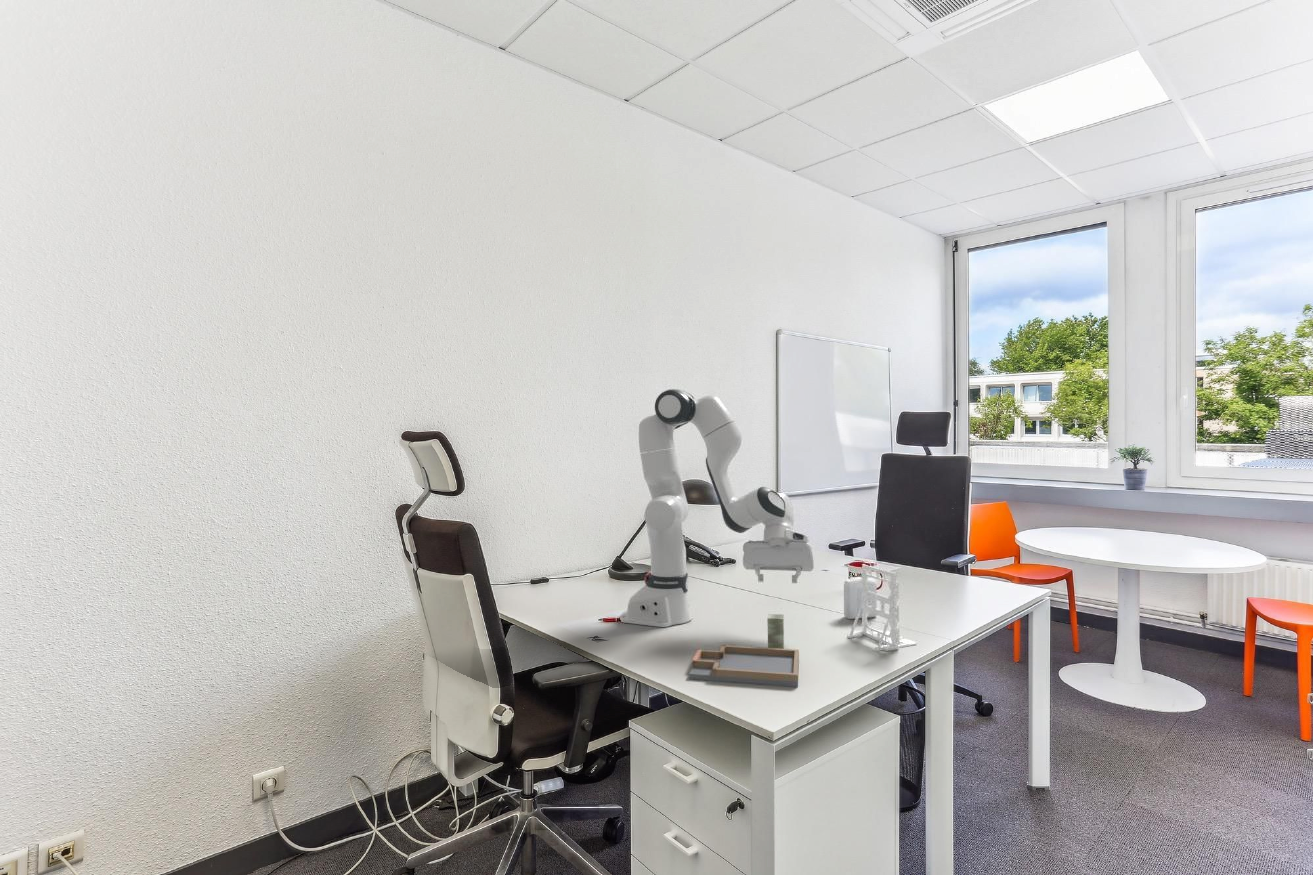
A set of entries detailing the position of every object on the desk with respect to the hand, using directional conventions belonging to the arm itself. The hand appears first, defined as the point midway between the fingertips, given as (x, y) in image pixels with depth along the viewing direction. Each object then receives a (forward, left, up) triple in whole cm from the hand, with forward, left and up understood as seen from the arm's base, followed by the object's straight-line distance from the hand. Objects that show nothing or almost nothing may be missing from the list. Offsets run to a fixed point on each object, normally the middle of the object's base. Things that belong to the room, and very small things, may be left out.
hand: (777, 581), depth 178 cm
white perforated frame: (+28, +1, -16) cm, 32 cm away
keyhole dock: (-6, -27, -15) cm, 32 cm away
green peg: (0, -12, -15) cm, 20 cm away
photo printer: (+24, +23, -16) cm, 37 cm away
